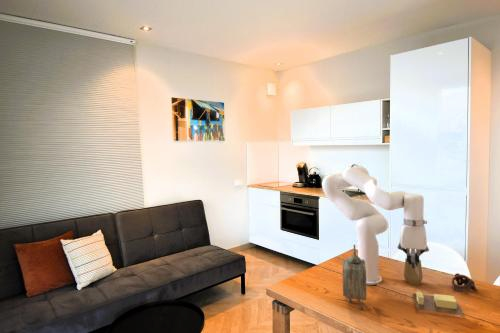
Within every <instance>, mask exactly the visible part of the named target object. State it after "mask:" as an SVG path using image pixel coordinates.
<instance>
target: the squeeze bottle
mask: <svg viewBox="0 0 500 333" xmlns="http://www.w3.org/2000/svg"><path fill="white" fill-rule="evenodd" d="M415 253H416V249H410V255H413V256H414V257H415ZM417 268H418V270H419V277H418V275H417V273H416V271H415V269H414V268H412V267H411V265H409V263H408V262H407V257H406V258H405V261H404V270H403V277H404V280H405V283H408V284H409V285H421V283H422V280H423V278H424V277H423V267H422V260H421V259H419V263H418V265H417Z"/></svg>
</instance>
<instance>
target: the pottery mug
mask: <svg viewBox="0 0 500 333" xmlns="http://www.w3.org/2000/svg"><path fill="white" fill-rule="evenodd" d="M455 282H456V283H455ZM451 289H452V290H454V291H456V292H461V293H463V292H467V291H470V292H473V291H472V289H473V290H475V291H478V289H477V287H476V284H475V281H474V280H473V279H471V277H469V276H468V275H465V274H460V273H458V272H457V273H455V274H454V276H453V277H452V278H451Z"/></svg>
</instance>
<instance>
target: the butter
mask: <svg viewBox="0 0 500 333" xmlns="http://www.w3.org/2000/svg"><path fill="white" fill-rule="evenodd" d="M433 296H434V302H435V304H436V306H437V307H444V308H451V309H457V304H458V302H457V300H456V298H455V296H454V295H447V294H439V293H433Z"/></svg>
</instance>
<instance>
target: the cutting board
mask: <svg viewBox="0 0 500 333" xmlns="http://www.w3.org/2000/svg"><path fill="white" fill-rule="evenodd" d="M411 294H412V296H413V300H414V303H415V306H416V309H417V311H425V312H431V313H432V312H433V313H441V314H447V315H453V316H462V317H465V314H464V313H463V310H462V309H461V307H460V305H459V303H457V309H451V308H444V307H437V306H436V304H435V302H434V295H429V294H423V296H424V305H422V304H418V301H417V293H413V292H412V293H411Z"/></svg>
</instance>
